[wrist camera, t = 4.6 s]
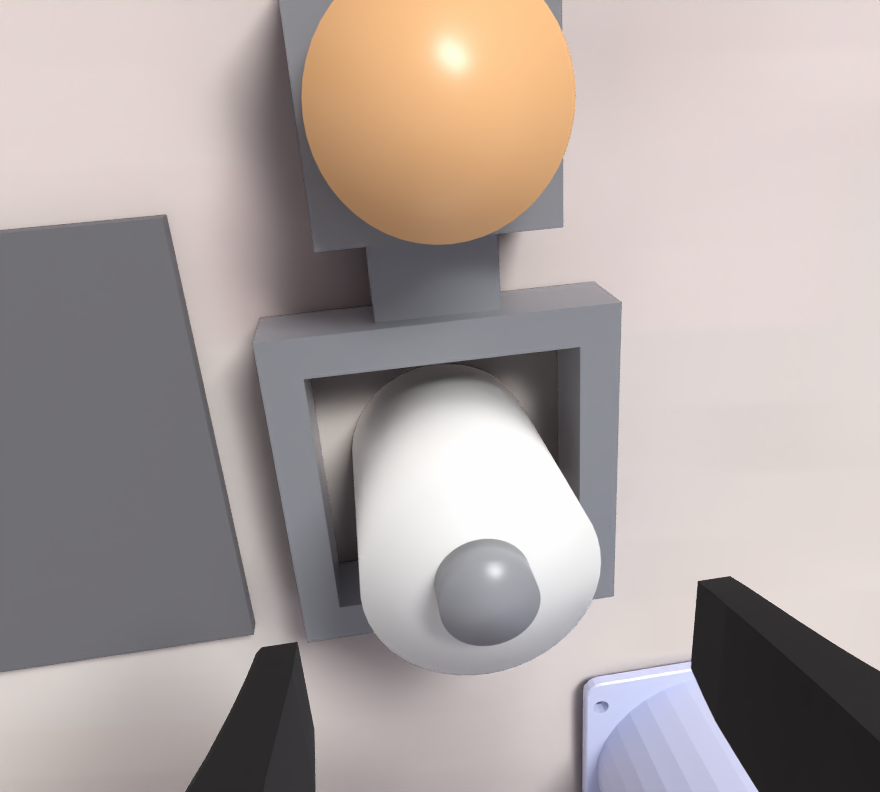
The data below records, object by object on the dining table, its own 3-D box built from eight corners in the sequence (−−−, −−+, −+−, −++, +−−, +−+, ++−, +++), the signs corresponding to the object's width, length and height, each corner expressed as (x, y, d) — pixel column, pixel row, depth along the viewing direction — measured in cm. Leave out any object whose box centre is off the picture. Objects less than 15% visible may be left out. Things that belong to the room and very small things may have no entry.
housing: (590, 554, 23) (626, 619, 20) (309, 595, 22) (306, 669, 19) (597, -41, 16) (651, -67, 14) (201, -16, 15) (173, -37, 13)
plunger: (526, 202, 17) (575, 231, 14) (323, 221, 17) (321, 257, 14) (520, -30, 16) (575, -62, 12) (292, -15, 15) (280, -44, 12)
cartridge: (532, 512, 22) (612, 682, 16) (363, 535, 21) (376, 721, 15) (527, 353, 20) (617, 476, 14) (341, 375, 19) (346, 513, 13)
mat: (255, 623, 22) (253, 634, 21) (-27, 664, 21) (-35, 677, 21) (166, 214, 17) (162, 217, 17) (-203, 249, 16) (-218, 253, 16)
